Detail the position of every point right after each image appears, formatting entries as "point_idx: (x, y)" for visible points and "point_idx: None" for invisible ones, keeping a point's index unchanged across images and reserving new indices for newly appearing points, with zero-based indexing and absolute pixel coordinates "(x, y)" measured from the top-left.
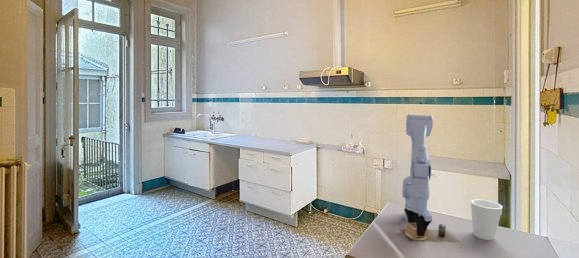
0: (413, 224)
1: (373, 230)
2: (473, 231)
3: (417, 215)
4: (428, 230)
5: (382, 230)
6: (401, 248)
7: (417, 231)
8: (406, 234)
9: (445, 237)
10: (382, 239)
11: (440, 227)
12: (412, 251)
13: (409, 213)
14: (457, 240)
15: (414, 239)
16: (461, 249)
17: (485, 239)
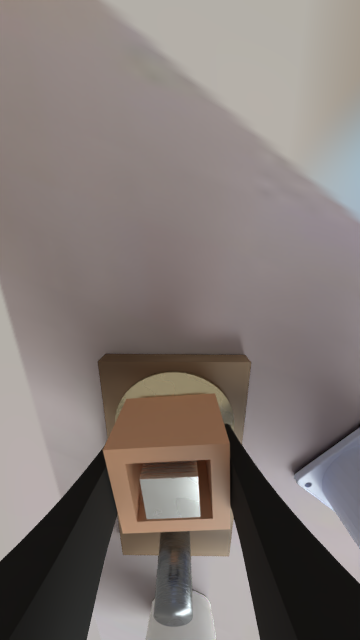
0: (179, 481)
1: (276, 180)
2: (188, 632)
3: (261, 634)
4: None
5: (270, 253)
6: (44, 293)
7: (101, 455)
8: (171, 376)
9: None
10: (141, 208)
11: (163, 589)
12: (25, 340)
13: (286, 637)
14: (133, 549)
15: (120, 395)
16: None
17: (151, 618)
